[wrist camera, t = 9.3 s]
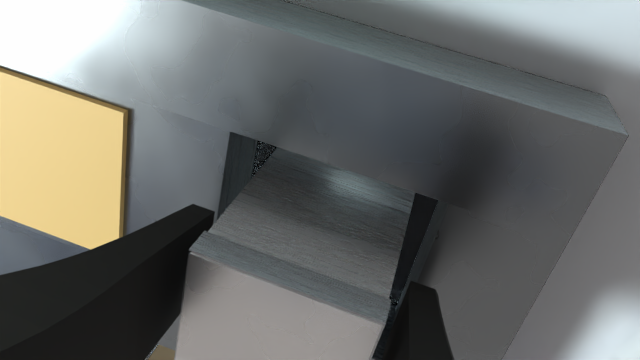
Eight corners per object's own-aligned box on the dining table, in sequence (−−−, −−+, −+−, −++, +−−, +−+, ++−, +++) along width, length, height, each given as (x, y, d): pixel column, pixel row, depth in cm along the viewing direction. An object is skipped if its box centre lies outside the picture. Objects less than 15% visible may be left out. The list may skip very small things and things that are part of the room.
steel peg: (379, 287, 18) (333, 450, 12) (261, 243, 18) (169, 383, 13) (420, 181, 15) (385, 324, 10) (285, 134, 16) (187, 250, 11)
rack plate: (451, 392, 19) (446, 462, 16) (15, 228, 21) (-45, 270, 18) (605, 95, 13) (630, 139, 11) (-12, -86, 15) (-101, -83, 13)
